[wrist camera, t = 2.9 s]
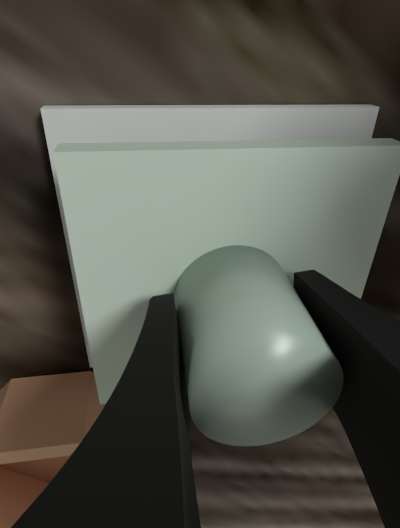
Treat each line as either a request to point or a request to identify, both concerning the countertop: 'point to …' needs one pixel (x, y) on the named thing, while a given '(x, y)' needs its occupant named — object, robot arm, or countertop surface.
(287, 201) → the lid
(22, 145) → the countertop surface
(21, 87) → the countertop surface
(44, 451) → the bowl
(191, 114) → the mat
